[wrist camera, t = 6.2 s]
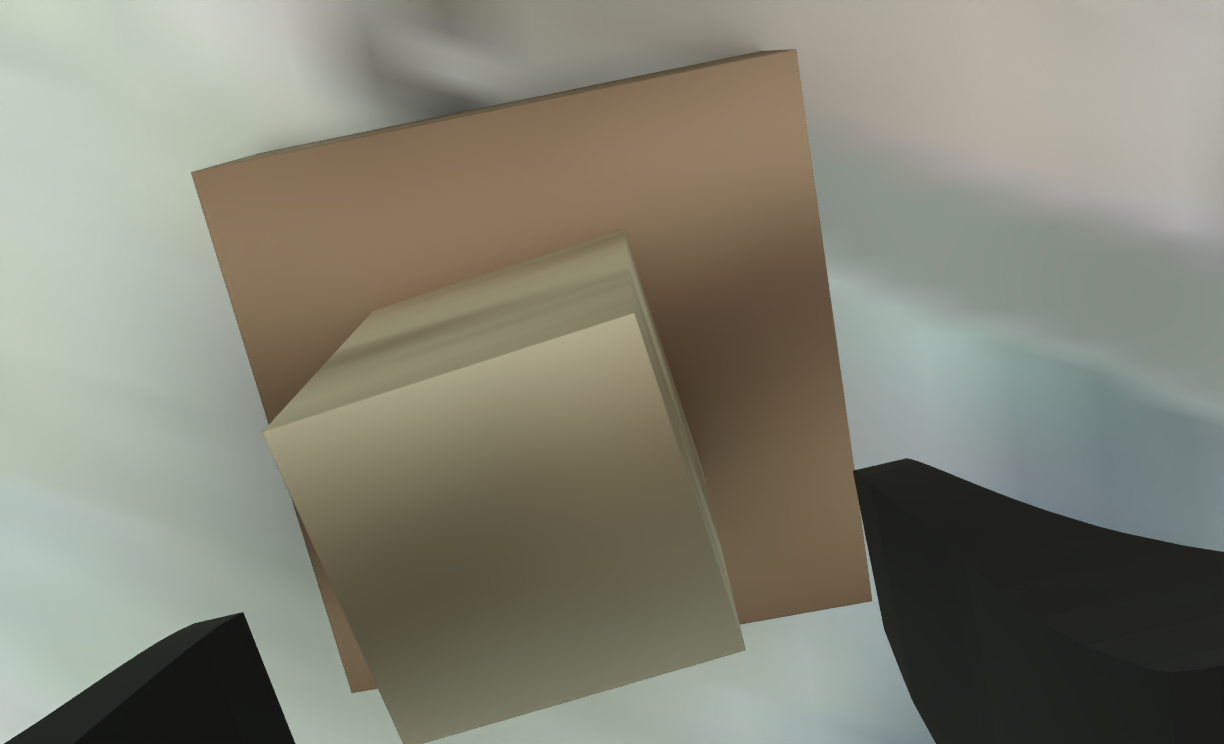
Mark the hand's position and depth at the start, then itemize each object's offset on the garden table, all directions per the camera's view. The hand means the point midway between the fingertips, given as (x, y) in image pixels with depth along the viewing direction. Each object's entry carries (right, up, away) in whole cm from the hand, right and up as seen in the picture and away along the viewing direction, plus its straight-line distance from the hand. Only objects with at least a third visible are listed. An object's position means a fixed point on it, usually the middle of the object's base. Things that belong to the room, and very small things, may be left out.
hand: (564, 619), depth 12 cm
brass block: (-1, +2, +6) cm, 7 cm away
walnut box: (0, +3, +10) cm, 11 cm away
